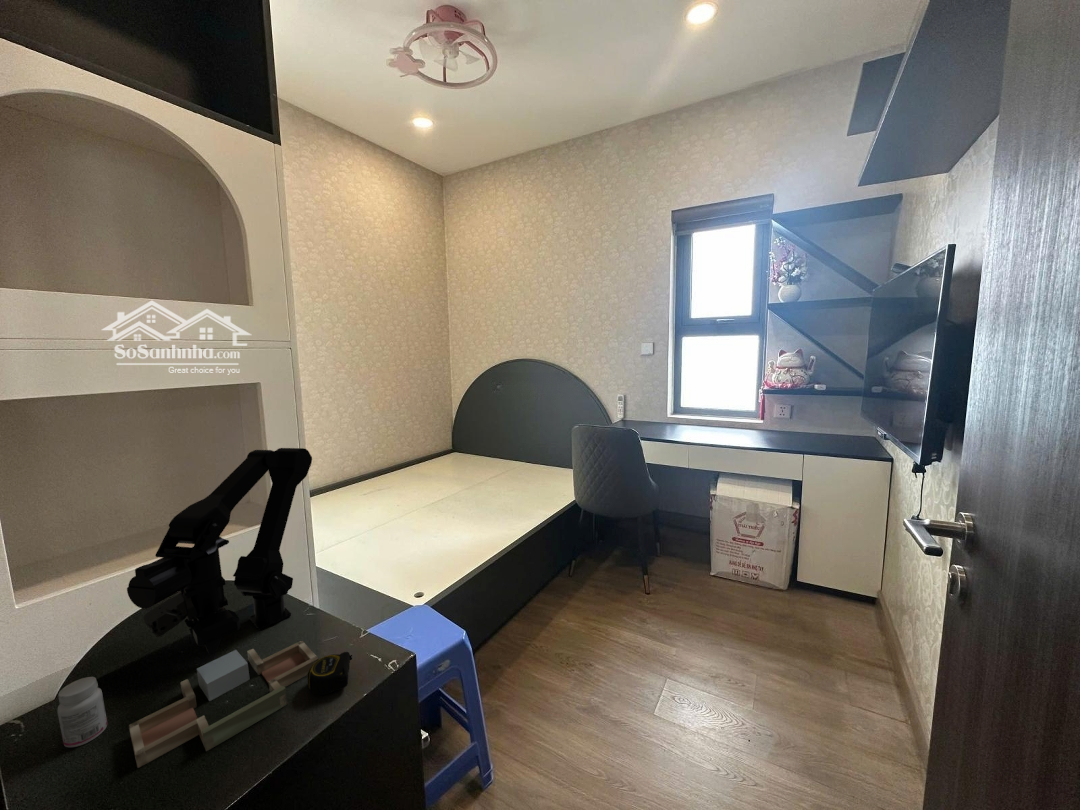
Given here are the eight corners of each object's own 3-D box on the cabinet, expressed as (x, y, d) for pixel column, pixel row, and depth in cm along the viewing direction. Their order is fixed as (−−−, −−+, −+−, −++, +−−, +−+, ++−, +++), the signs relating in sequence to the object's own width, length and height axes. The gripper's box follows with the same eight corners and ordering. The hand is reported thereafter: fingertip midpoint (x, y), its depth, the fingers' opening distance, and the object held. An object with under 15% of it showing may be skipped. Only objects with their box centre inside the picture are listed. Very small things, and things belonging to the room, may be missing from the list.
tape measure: (348, 693, 73) (346, 673, 73) (304, 704, 71) (302, 683, 71) (353, 666, 80) (351, 648, 79) (312, 675, 78) (311, 656, 77)
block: (198, 686, 76) (196, 668, 76) (238, 666, 81) (235, 649, 80) (209, 702, 72) (207, 683, 72) (249, 680, 77) (247, 663, 77)
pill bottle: (76, 727, 68) (68, 679, 67) (114, 718, 69) (106, 671, 68) (55, 753, 63) (45, 702, 62) (96, 742, 65) (88, 692, 64)
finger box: (126, 719, 69) (124, 702, 69) (293, 639, 88) (291, 625, 87) (142, 788, 58) (139, 769, 57) (329, 679, 76) (328, 664, 76)
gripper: (137, 578, 80) (148, 654, 81) (153, 616, 67) (166, 705, 69) (210, 556, 88) (218, 625, 90) (236, 586, 76) (245, 666, 78)
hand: (212, 652), depth 81 cm, fingers closed
